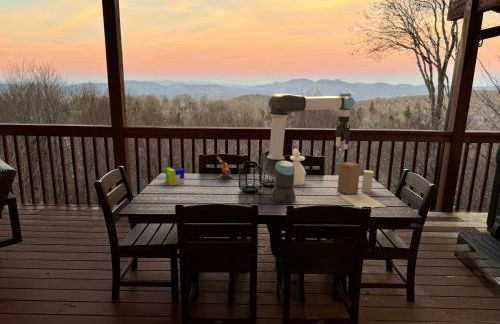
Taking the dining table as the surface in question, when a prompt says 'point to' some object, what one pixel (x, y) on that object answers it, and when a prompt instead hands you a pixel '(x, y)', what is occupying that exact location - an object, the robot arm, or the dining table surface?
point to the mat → (362, 201)
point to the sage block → (367, 181)
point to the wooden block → (348, 178)
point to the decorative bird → (224, 168)
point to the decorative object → (298, 168)
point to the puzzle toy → (174, 175)
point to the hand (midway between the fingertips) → (341, 147)
